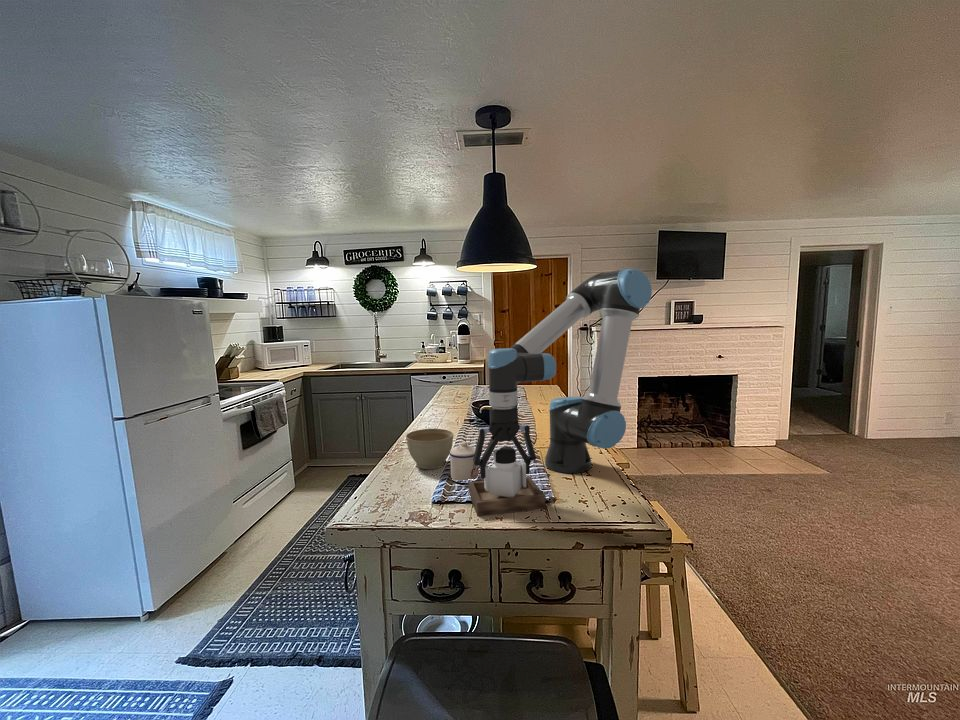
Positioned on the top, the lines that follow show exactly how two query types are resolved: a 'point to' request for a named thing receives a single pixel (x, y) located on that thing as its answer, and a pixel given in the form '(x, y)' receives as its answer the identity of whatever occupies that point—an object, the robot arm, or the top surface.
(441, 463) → the planter bowl
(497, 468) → the medicine bottle
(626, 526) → the top surface
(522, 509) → the holder tray
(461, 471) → the teacup with lid
